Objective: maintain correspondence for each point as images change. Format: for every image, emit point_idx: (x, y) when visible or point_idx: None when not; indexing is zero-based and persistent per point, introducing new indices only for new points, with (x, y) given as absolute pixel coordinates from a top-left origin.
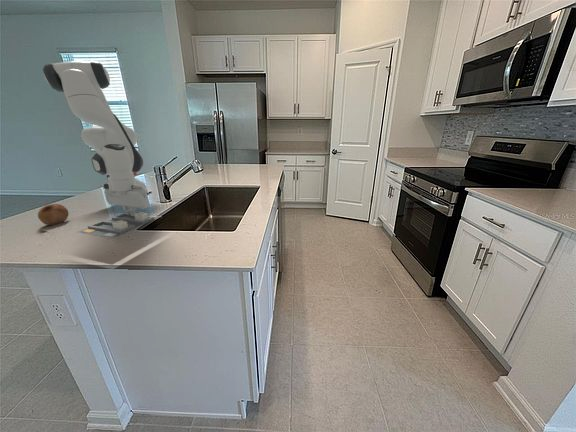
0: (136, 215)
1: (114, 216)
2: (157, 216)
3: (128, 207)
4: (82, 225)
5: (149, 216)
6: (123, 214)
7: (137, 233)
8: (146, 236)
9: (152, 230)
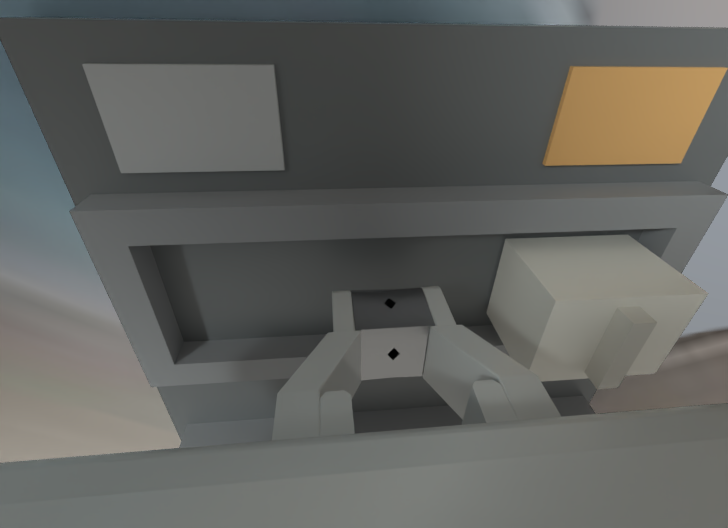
0: (562, 374)
1: (146, 359)
2: (719, 78)
3: (325, 387)
4: (21, 453)
5: (644, 203)
6: (137, 254)
7: (612, 396)
8: (702, 401)
9: (716, 333)
